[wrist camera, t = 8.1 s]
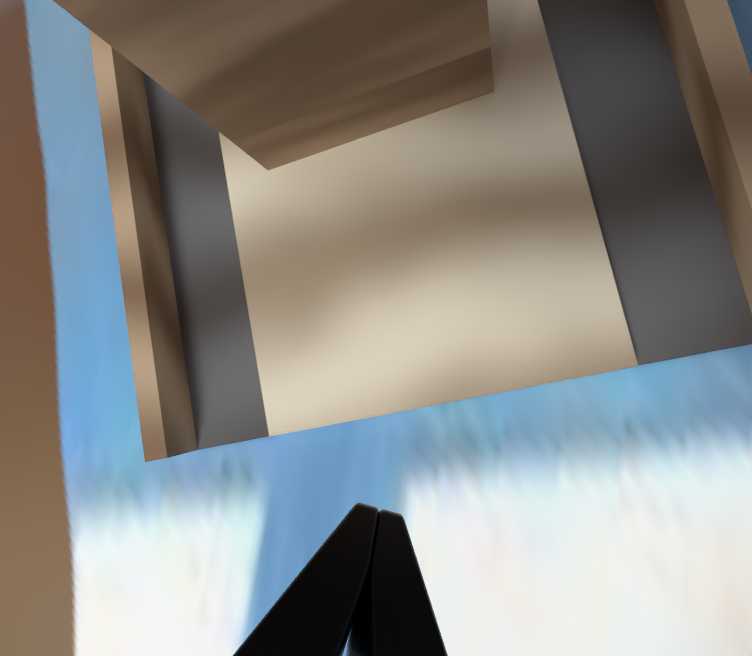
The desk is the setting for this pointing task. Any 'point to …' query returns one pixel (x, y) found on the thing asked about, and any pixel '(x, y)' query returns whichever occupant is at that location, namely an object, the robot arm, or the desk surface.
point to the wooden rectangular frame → (441, 231)
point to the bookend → (302, 63)
